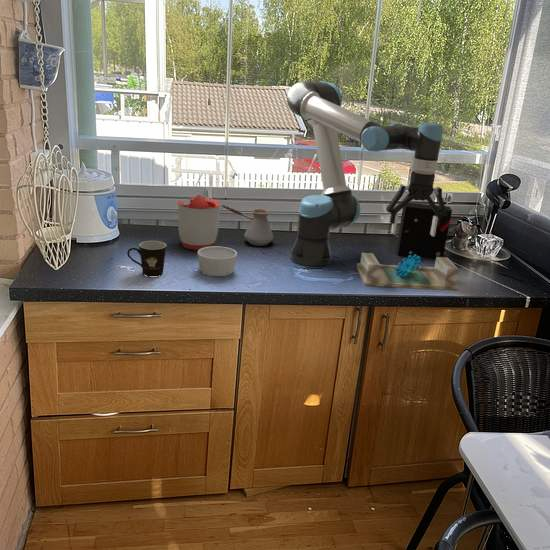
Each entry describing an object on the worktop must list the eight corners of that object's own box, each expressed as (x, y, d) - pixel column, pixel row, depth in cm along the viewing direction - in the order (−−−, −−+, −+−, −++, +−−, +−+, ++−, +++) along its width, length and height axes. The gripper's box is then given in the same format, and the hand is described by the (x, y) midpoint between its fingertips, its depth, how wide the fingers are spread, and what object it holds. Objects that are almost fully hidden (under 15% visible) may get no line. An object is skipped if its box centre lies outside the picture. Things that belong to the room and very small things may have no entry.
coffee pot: (270, 238, 232) (273, 202, 226) (274, 247, 221) (277, 210, 216) (217, 237, 228) (219, 201, 222) (220, 246, 217) (221, 208, 212)
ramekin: (189, 273, 189) (190, 254, 187) (208, 262, 201) (209, 243, 198) (225, 281, 185) (226, 261, 183) (242, 269, 197) (243, 250, 194)
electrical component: (438, 253, 231) (448, 205, 223) (443, 261, 221) (453, 211, 214) (395, 248, 232) (403, 200, 225) (398, 256, 222) (406, 207, 215)
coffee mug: (170, 272, 189) (171, 243, 185) (157, 280, 181) (157, 251, 178) (140, 265, 192) (140, 237, 189) (126, 274, 185) (125, 244, 181)
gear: (391, 265, 202) (414, 248, 200) (400, 276, 205) (423, 259, 202) (399, 281, 193) (424, 263, 190) (408, 292, 195) (433, 274, 193)
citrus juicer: (193, 236, 227) (195, 186, 220) (226, 246, 218) (229, 195, 211) (165, 244, 215) (165, 192, 208) (199, 255, 206) (200, 202, 199)
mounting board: (364, 285, 191) (367, 265, 188) (356, 268, 206) (358, 249, 203) (457, 290, 193) (461, 270, 191) (442, 273, 208) (445, 254, 206)
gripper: (388, 171, 181) (379, 235, 189) (464, 176, 183) (452, 239, 190) (383, 167, 188) (374, 228, 196) (456, 172, 190) (444, 232, 197)
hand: (412, 234), depth 193 cm, fingers open, 13 cm apart
